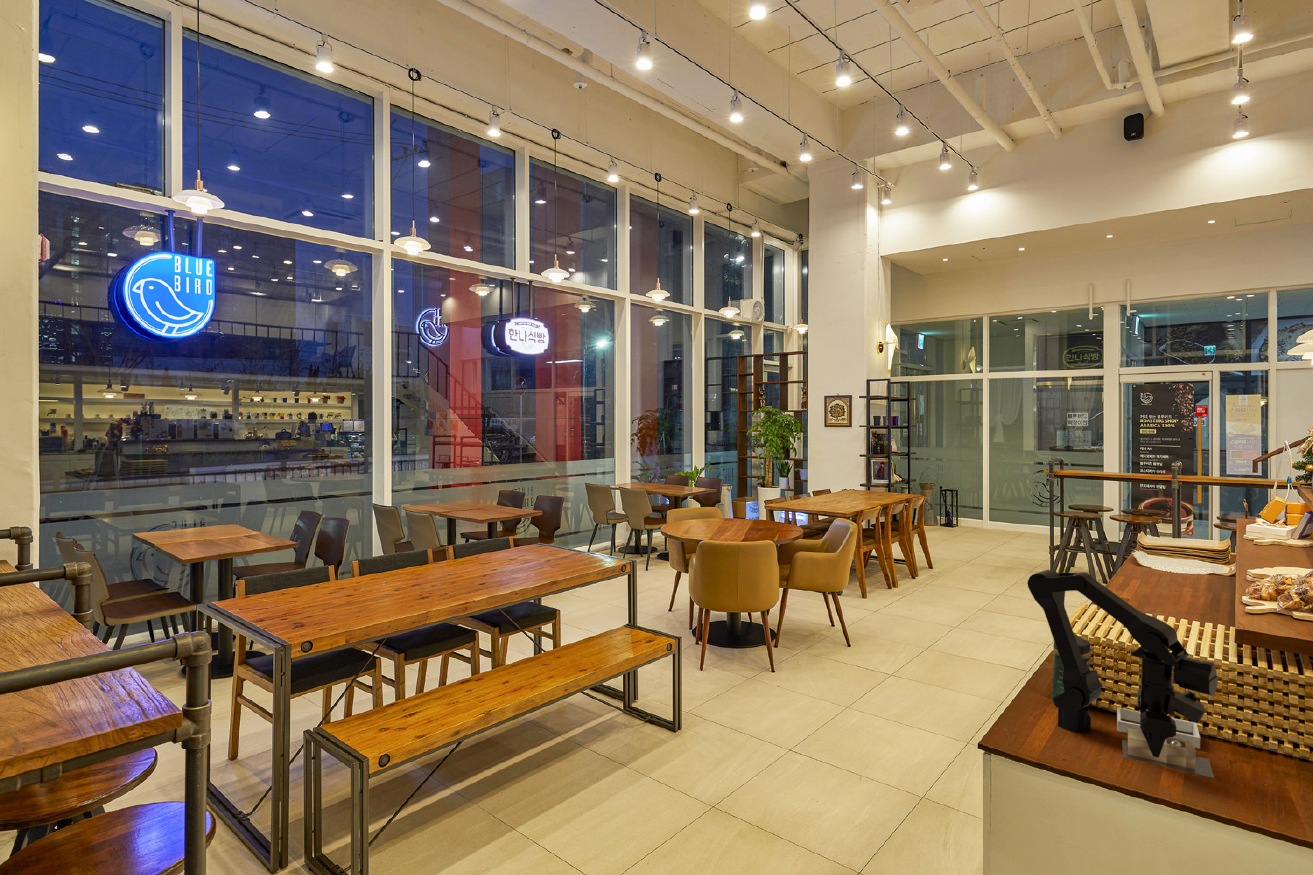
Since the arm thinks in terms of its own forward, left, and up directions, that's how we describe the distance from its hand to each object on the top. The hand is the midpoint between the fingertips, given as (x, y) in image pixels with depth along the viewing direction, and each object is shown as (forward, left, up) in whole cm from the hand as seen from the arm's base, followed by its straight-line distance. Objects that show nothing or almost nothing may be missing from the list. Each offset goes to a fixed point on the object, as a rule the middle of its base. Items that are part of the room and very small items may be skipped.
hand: (1154, 747), depth 154 cm
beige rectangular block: (+1, 0, -2) cm, 2 cm away
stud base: (+2, 0, -3) cm, 4 cm away
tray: (+1, +13, -3) cm, 14 cm away
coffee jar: (-17, +23, -3) cm, 29 cm away
